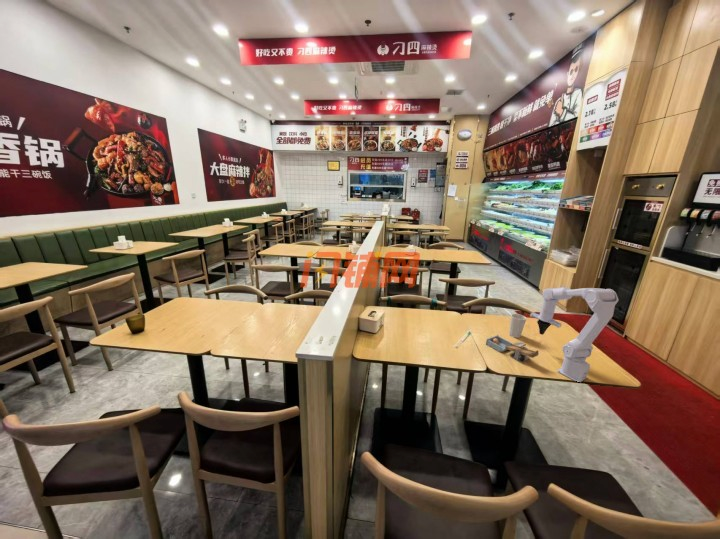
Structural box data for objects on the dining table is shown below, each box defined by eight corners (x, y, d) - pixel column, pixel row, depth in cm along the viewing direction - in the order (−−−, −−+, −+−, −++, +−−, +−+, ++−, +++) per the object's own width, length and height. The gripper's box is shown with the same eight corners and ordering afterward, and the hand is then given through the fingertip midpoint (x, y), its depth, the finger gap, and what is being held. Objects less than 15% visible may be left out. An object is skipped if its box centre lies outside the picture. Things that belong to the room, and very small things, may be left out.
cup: (524, 339, 161) (528, 320, 158) (509, 337, 163) (513, 318, 159) (519, 332, 169) (523, 314, 165) (505, 330, 170) (509, 312, 167)
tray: (511, 348, 152) (512, 342, 151) (501, 352, 147) (502, 347, 146) (496, 340, 159) (497, 334, 158) (485, 344, 155) (486, 338, 154)
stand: (529, 358, 143) (531, 350, 141) (521, 362, 139) (523, 354, 138) (518, 352, 148) (520, 344, 146) (510, 356, 144) (511, 348, 143)
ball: (500, 342, 154) (498, 337, 155) (496, 344, 152) (495, 338, 153) (495, 343, 156) (493, 338, 157) (492, 344, 155) (490, 339, 156)
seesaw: (546, 351, 141) (546, 346, 141) (532, 358, 135) (532, 353, 135) (518, 342, 153) (518, 338, 153) (505, 348, 147) (505, 344, 147)
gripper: (566, 314, 141) (560, 338, 145) (537, 303, 153) (532, 326, 157) (559, 317, 138) (553, 341, 142) (530, 306, 150) (525, 328, 154)
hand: (541, 333), depth 149 cm, fingers closed
